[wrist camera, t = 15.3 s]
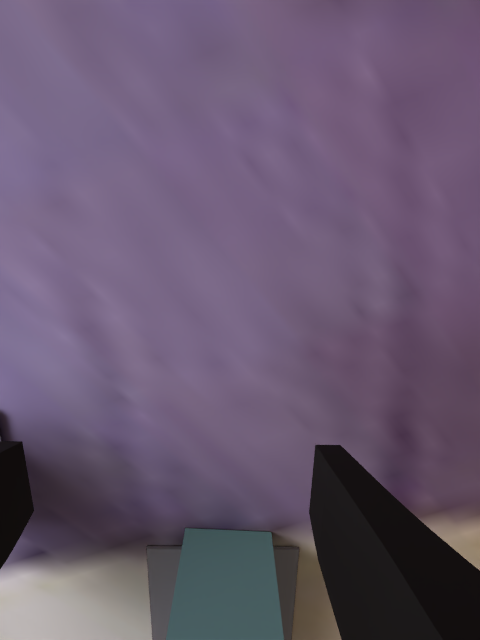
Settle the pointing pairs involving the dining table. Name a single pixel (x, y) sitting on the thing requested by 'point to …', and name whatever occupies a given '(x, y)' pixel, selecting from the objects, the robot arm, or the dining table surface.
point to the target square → (165, 574)
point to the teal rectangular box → (226, 587)
